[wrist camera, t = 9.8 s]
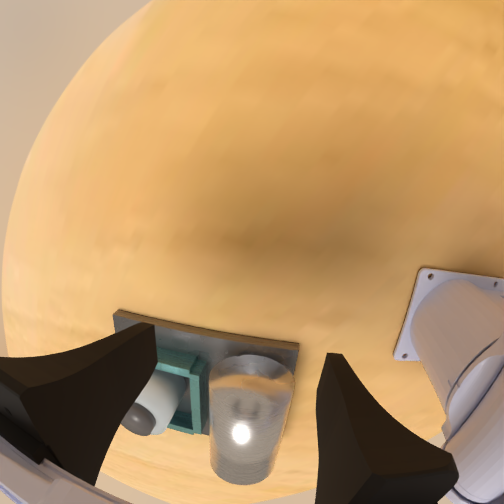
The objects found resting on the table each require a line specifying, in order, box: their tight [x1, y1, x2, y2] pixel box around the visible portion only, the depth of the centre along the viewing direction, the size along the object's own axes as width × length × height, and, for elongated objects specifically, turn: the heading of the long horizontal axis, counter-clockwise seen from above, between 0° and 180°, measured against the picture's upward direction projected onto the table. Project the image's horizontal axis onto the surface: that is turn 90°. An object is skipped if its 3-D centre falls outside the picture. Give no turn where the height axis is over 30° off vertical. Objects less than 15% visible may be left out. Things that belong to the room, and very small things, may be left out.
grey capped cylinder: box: [121, 369, 186, 436], centre depth 22 cm, size 5×5×6 cm
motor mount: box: [113, 310, 299, 485], centre depth 22 cm, size 16×13×7 cm
